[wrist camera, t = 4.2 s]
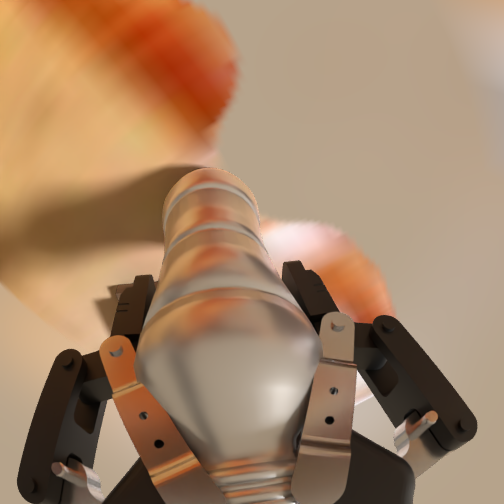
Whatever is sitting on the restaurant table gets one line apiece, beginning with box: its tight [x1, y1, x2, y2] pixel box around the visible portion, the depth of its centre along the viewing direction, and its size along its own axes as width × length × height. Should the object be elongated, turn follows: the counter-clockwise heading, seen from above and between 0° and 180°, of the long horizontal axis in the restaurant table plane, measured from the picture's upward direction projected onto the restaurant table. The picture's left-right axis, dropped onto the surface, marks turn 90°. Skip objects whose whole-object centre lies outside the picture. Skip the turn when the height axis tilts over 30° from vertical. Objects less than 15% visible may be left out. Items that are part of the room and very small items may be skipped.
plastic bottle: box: [133, 168, 323, 504], centre depth 12 cm, size 6×7×20 cm
